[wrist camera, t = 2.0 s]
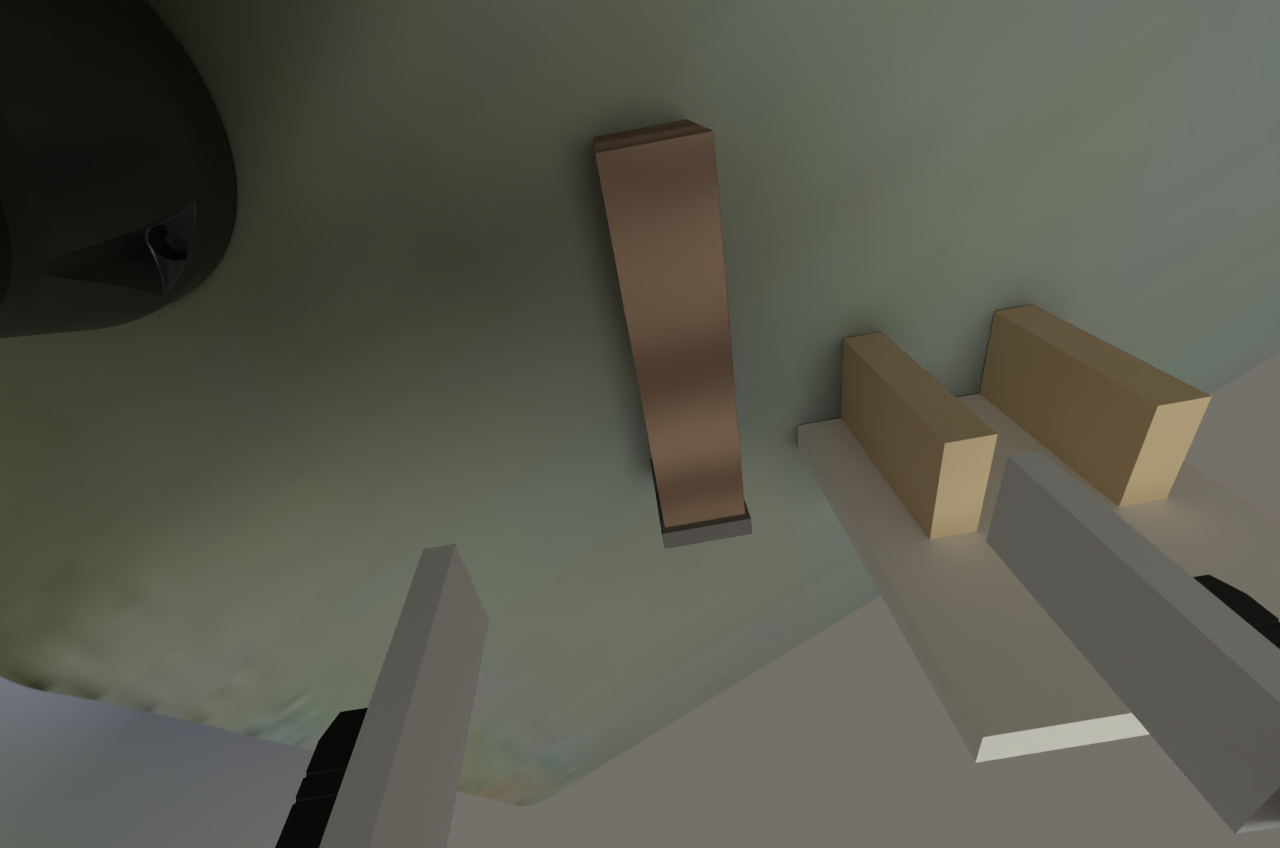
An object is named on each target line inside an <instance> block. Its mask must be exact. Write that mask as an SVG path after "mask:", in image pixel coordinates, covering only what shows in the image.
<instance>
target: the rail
mask: <svg viewBox="0 0 1280 848" xmlns="http://www.w3.org/2000/svg"><path fill="white" fill-rule="evenodd" d="M594 142H595V156H596V161H597V166H598V172H599V177H600V182H601V188H602V193H603V198H604V204H605V209H606V214H607V220H608V225H609V231H610V236H611V241H612V247H613V252H614V257H615V263H616V268H617V273H618V279H619V284H620V289H621V295H622V300H623V305H624V311H625V316H626V322H627V327H628V332H629V338H630V343H631V348H632V354H633V359H634V364H635V370H636V375H637V380H638V386H639V391H640V397H641V402H642V407H643V413H644V418H645V423H646V429H647V434H648V439H649V445H650V450H651V455H652V458H650V460H651V467H652V473H653V480H654V486H655V493H656V499H657V506H658V512H659V519H660V525H661V532H662V537H663V542H664V548H665V549H666V548H672V547H678V546H683V545H689V544H695V543H701V542H707V541H712V540H718V539H724V538H730V537H735V536H741V535H747V534H752V525H751V517H750V515H749V512H748V509H747V506H746V503H745V501H744V496H743V484H742V471H741V459H740V447H739V435H738V423H737V411H736V399H735V387H734V375H733V363H732V350H731V338H730V326H729V314H728V302H727V290H726V278H725V266H724V254H723V242H722V230H721V217H720V205H719V193H718V181H717V169H716V157H715V145H714V133H713V131H712V130H710V129H708V128H705V127H703V126H701V125H699V124H696V123H694V122H692V121H689V120H682V121H677V122H671V123H666V124H661V125H656V126H650V127H645V128H640V129H635V130H629V131H624V132H619V133H614V134H608V135H603V136H598V137H594Z"/></svg>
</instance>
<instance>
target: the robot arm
mask: <svg viewBox="0 0 1280 848" xmlns="http://www.w3.org/2000/svg"><path fill="white" fill-rule="evenodd" d="M235 206H236V186H235V176H234V169H233V163H232V158H231V154H230V150H229V146H228V142H227V139H226V136H225V132H224V129H223V126H222V124H221V121H220V119H219V116H218V114H217V111H216V109H215V106H214V104H213V102H212V100H211V98H210V96H209V93H208V92H207V90H206V88H205V86H204V84H203V82H202V80H201V78H200V77H199V75H198V73H197V72H196V70H195V68H194V67H193V65H192V63H191V62H190V60H189V58H188V57H187V55H186V54H185V52H184V51H183V49H182V48H181V46H180V45H179V44H178V42H177V41H176V39H175V38H174V37H173V35H172V34H171V33H170V31H169V30H168V29H167V27H166V26H165V25H164V24H163V22H162V21H161V20H160V19H159V18H158V16H157V15H156V14H155V13H154V12H153V10H152V9H151V8H150V7H149V6H148V5H147V4H146V3H145V2H144V0H0V338H6V337H17V336H28V335H39V334H50V333H61V332H72V331H83V330H94V329H101V328H108V327H112V326H116V325H121V324H124V323H128V322H131V321H134V320H137V319H140V318H142V317H145V316H147V315H149V314H152V313H153V312H155V311H157V310H159V309H161V308H163V307H165V306H166V305H168V304H170V303H172V302H174V301H176V300H178V299H180V298H181V297H183V296H185V295H187V294H188V293H190V292H191V291H193V290H194V289H195V288H196V287H198V286H199V285H200V284H201V283H202V282H203V281H204V280H205V279H206V278H207V277H208V276H209V275H210V274H211V273H212V271H213V270H214V269H215V267H216V266H217V264H218V263H219V261H220V260H221V258H222V256H223V254H224V252H225V250H226V248H227V245H228V242H229V239H230V236H231V232H232V228H233V224H234V217H235ZM986 542H987V543H988V545H989V546H990V547H991V548H992V549H993V550H994V552H995V553H996V554H997V555H998V556H999V557H1000V559H1001V560H1002V561H1003V562H1004V563H1005V565H1006V566H1007V567H1008V568H1009V569H1010V570H1011V572H1012V573H1013V574H1014V575H1015V576H1016V577H1017V579H1018V580H1019V581H1020V582H1021V583H1022V584H1023V586H1024V587H1025V588H1026V589H1027V590H1028V592H1029V593H1030V594H1031V595H1032V596H1033V597H1034V599H1035V600H1036V601H1037V602H1038V603H1039V604H1040V606H1041V607H1042V608H1043V609H1044V610H1045V611H1046V613H1047V614H1048V615H1049V616H1050V617H1051V619H1052V620H1053V621H1054V622H1055V623H1056V624H1057V626H1058V627H1059V628H1060V629H1061V630H1062V631H1063V633H1064V634H1065V635H1066V636H1067V637H1068V638H1069V640H1070V641H1071V642H1072V643H1073V644H1074V646H1075V647H1076V648H1077V649H1078V650H1079V651H1080V653H1081V654H1082V655H1083V656H1084V657H1085V658H1086V660H1087V661H1088V662H1089V663H1090V664H1091V665H1092V667H1093V668H1094V669H1095V670H1096V671H1097V673H1098V674H1099V675H1100V676H1101V677H1102V678H1103V680H1104V681H1105V682H1106V683H1107V684H1108V685H1109V687H1110V688H1111V689H1112V690H1113V691H1114V692H1115V694H1116V695H1117V696H1118V697H1119V698H1120V700H1121V701H1122V702H1123V703H1124V704H1125V705H1126V707H1127V708H1128V709H1129V710H1130V711H1131V712H1132V714H1133V715H1134V716H1135V717H1136V718H1137V719H1138V721H1139V722H1140V723H1141V724H1142V725H1143V727H1144V728H1145V729H1146V730H1147V731H1148V732H1149V734H1150V735H1151V736H1152V737H1153V738H1154V739H1155V741H1156V742H1157V743H1158V744H1159V745H1160V746H1161V747H1162V749H1163V750H1164V751H1165V752H1166V754H1167V755H1168V756H1169V757H1170V758H1171V759H1172V760H1173V762H1174V763H1175V764H1176V765H1177V766H1178V768H1179V769H1180V770H1181V771H1182V772H1183V773H1184V775H1185V776H1186V777H1187V778H1188V779H1189V780H1190V781H1191V783H1192V784H1193V785H1194V786H1195V788H1196V789H1197V790H1198V791H1199V792H1200V793H1201V794H1202V796H1203V797H1204V798H1205V799H1206V800H1207V802H1208V803H1209V804H1210V805H1211V806H1212V808H1213V809H1214V810H1215V811H1216V812H1217V813H1218V814H1219V816H1220V817H1221V818H1222V819H1223V820H1224V822H1225V823H1226V824H1227V825H1228V826H1229V827H1230V829H1231V830H1232V831H1233V832H1234V833H1235V834H1237V833H1243V832H1250V831H1257V830H1263V829H1270V828H1276V827H1280V622H1279V619H1278V618H1277V617H1276V616H1275V615H1273V614H1272V613H1271V612H1269V611H1268V610H1267V609H1266V608H1264V607H1263V606H1262V605H1261V604H1259V603H1258V602H1257V601H1256V600H1254V599H1253V598H1252V597H1250V596H1249V595H1248V594H1246V593H1244V592H1242V591H1240V590H1239V589H1237V588H1235V587H1233V586H1231V585H1229V584H1227V583H1225V582H1223V581H1221V580H1219V579H1217V578H1215V577H1213V576H1211V575H1210V574H1209V575H1203V576H1196V577H1192V576H1191V575H1189V574H1188V573H1187V572H1186V571H1185V570H1183V569H1182V568H1181V567H1180V566H1179V565H1177V564H1176V563H1175V562H1174V561H1173V560H1171V559H1170V558H1169V557H1168V556H1167V555H1165V554H1164V553H1163V552H1162V551H1161V550H1159V549H1158V548H1157V547H1156V546H1155V545H1153V544H1152V543H1151V542H1150V541H1149V540H1147V539H1146V538H1145V537H1144V536H1143V535H1141V534H1140V533H1139V532H1138V531H1136V530H1135V529H1134V528H1133V527H1132V526H1130V525H1129V524H1128V523H1127V522H1126V521H1124V520H1123V519H1122V518H1121V517H1120V516H1118V515H1117V514H1116V513H1115V512H1114V511H1112V510H1111V509H1110V508H1109V507H1108V506H1106V505H1105V504H1104V503H1103V502H1102V501H1100V500H1099V499H1098V498H1097V497H1096V496H1094V495H1093V494H1092V493H1091V492H1090V491H1088V490H1087V489H1086V488H1085V487H1084V486H1082V485H1081V484H1080V483H1079V482H1078V481H1076V480H1075V479H1074V478H1073V477H1071V476H1070V475H1069V474H1068V473H1067V472H1065V471H1064V470H1063V469H1062V468H1061V467H1059V466H1058V465H1057V464H1056V463H1055V462H1053V461H1052V460H1051V459H1050V458H1049V457H1047V456H1046V455H1045V454H1044V453H1043V452H1041V451H1037V452H1030V453H1024V454H1018V455H1012V456H1008V458H1007V462H1006V466H1005V470H1004V474H1003V478H1002V481H1001V485H1000V489H999V493H998V497H997V501H996V504H995V508H994V512H993V516H992V520H991V524H990V528H989V531H988V535H987V539H986ZM487 626H488V618H487V615H486V613H485V611H484V609H483V606H482V604H481V602H480V599H479V597H478V595H477V592H476V590H475V588H474V586H473V583H472V581H471V579H470V576H469V574H468V572H467V569H466V567H465V565H464V563H463V560H462V558H461V556H460V553H459V551H458V549H457V546H456V544H453V545H447V546H440V547H434V548H428V549H423V552H422V555H421V558H420V561H419V564H418V566H417V569H416V572H415V575H414V578H413V581H412V584H411V586H410V589H409V592H408V595H407V598H406V601H405V604H404V606H403V609H402V612H401V615H400V618H399V621H398V624H397V626H396V629H395V632H394V635H393V638H392V641H391V644H390V646H389V649H388V652H387V655H386V658H385V661H384V664H383V666H382V669H381V672H380V675H379V678H378V681H377V684H376V686H375V689H374V692H373V695H372V698H371V701H370V704H369V706H368V708H363V709H357V710H351V711H344V712H340V713H339V714H338V716H337V717H336V718H335V720H334V721H333V722H332V724H331V725H330V726H329V728H328V729H327V730H326V732H325V733H324V734H323V736H322V737H321V738H320V740H319V741H318V744H317V746H316V749H315V751H314V754H313V756H312V759H311V761H310V764H309V766H308V768H307V771H306V773H307V775H306V778H303V781H302V783H301V786H300V788H299V791H298V793H297V795H296V803H295V804H293V805H292V808H291V810H290V813H289V815H288V818H287V820H286V823H285V825H284V828H283V830H282V833H281V835H280V838H279V840H278V842H277V845H276V847H275V848H446V847H447V842H448V836H449V831H450V825H451V820H452V814H453V809H454V803H455V798H456V793H457V788H458V782H459V777H460V772H461V766H462V761H463V755H464V750H465V744H466V739H467V734H468V728H469V723H470V717H471V712H472V707H473V701H474V696H475V690H476V685H477V680H478V674H479V669H480V663H481V658H482V653H483V647H484V642H485V636H486V631H487Z"/></svg>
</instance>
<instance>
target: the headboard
mask: <svg viewBox="0 0 1280 848" xmlns="http://www.w3.org/2000/svg"><path fill="white" fill-rule="evenodd" d="M1211 397H1212V396H1210V395H1208V394H1206V393H1204V392H1202V391H1200V390H1198V389H1196V388H1194V387H1192V386H1190V385H1189V384H1187V383H1185V382H1183V381H1181V380H1179V379H1177V378H1175V377H1173V376H1171V375H1169V374H1167V373H1165V372H1163V371H1161V370H1159V369H1157V368H1155V367H1153V366H1152V365H1150V364H1148V363H1146V362H1144V361H1142V360H1140V359H1138V358H1136V357H1134V356H1132V355H1130V354H1128V353H1126V352H1124V351H1122V350H1120V349H1118V348H1116V347H1114V346H1113V345H1111V344H1109V343H1107V342H1105V341H1103V340H1101V339H1099V338H1097V337H1095V336H1093V335H1091V334H1089V333H1087V332H1085V331H1083V330H1081V329H1079V328H1077V327H1076V326H1074V325H1072V324H1070V323H1068V322H1066V321H1064V320H1062V319H1060V318H1058V317H1056V316H1054V315H1052V314H1050V313H1048V312H1046V311H1044V310H1042V309H1040V308H1038V307H1037V306H1035V305H1033V304H1032V305H1027V306H1021V307H1016V308H1010V309H1005V310H999V311H994V317H993V322H992V328H991V333H990V338H989V344H988V349H987V355H986V360H985V365H984V371H983V376H982V382H981V387H980V392H979V394H973V395H968V396H962V397H955V396H954V395H953V394H951V393H950V392H949V391H948V390H947V389H946V388H945V387H943V386H942V385H941V384H940V383H939V382H938V381H937V380H935V379H934V378H933V377H932V376H931V375H930V374H929V373H927V372H926V371H925V370H924V369H923V368H922V367H921V366H919V365H918V364H917V363H916V362H915V361H914V360H913V359H911V358H910V357H909V356H908V355H907V354H906V353H905V352H903V351H902V350H901V349H900V348H899V347H898V346H897V345H895V344H894V343H893V342H892V341H891V340H890V339H889V338H887V337H886V336H885V335H884V334H883V333H882V332H877V333H872V334H866V335H860V336H855V337H849V338H844V339H843V364H842V393H841V418H838V419H832V420H827V421H821V422H815V423H810V424H804V425H798V448H799V450H800V451H801V453H802V455H803V457H804V459H805V460H806V462H807V464H808V466H809V467H810V469H811V471H812V473H813V475H814V476H815V478H816V480H817V482H818V483H819V485H820V487H821V489H822V491H823V492H824V494H825V496H826V498H827V499H828V501H829V503H830V505H831V507H832V508H833V510H834V512H835V514H836V515H837V517H838V519H839V521H840V523H841V524H842V526H843V528H844V530H845V532H846V533H847V535H848V537H849V539H850V540H851V542H852V544H853V546H854V548H855V549H856V551H857V553H858V555H859V556H860V558H861V560H862V562H863V564H864V565H865V567H866V569H867V571H868V572H869V574H870V576H871V578H872V580H873V581H874V583H875V585H876V587H877V588H878V590H879V592H880V594H881V596H882V597H883V599H884V601H885V603H886V604H887V606H888V608H889V610H890V611H891V613H892V615H893V617H894V619H895V620H896V622H897V624H898V626H899V628H900V629H901V631H902V633H903V635H904V637H905V638H906V640H907V642H908V644H909V645H910V647H911V649H912V651H913V653H914V654H915V656H916V658H917V659H918V661H919V663H920V665H921V667H922V668H923V670H924V672H925V674H926V676H927V677H928V679H929V681H930V683H931V685H932V686H933V688H934V690H935V692H936V693H937V695H938V697H939V699H940V701H941V702H942V704H943V706H944V708H945V709H946V711H947V713H948V715H949V716H950V718H951V720H952V722H953V724H954V725H955V727H956V729H957V731H958V733H959V734H960V736H961V738H962V740H963V741H964V743H965V745H966V747H967V748H968V750H969V752H970V754H971V755H972V757H973V759H974V761H975V763H976V762H983V761H989V760H994V759H1001V758H1007V757H1013V756H1019V755H1026V754H1032V753H1038V752H1043V751H1050V750H1056V749H1062V748H1068V747H1075V746H1081V745H1087V744H1093V743H1099V742H1105V741H1111V740H1118V739H1123V738H1130V737H1136V736H1142V735H1148V734H1149V732H1148V731H1147V730H1146V729H1145V728H1144V727H1143V725H1142V724H1141V723H1140V722H1139V721H1138V719H1137V718H1136V717H1135V716H1134V715H1133V714H1132V712H1131V711H1130V710H1129V709H1128V708H1127V707H1126V705H1125V704H1124V703H1123V702H1122V701H1121V700H1120V698H1119V697H1118V696H1117V695H1116V694H1115V692H1114V691H1113V690H1112V689H1111V688H1110V687H1109V685H1108V684H1107V683H1106V682H1105V681H1104V680H1103V678H1102V677H1101V676H1100V675H1099V674H1098V673H1097V671H1096V670H1095V669H1094V668H1093V667H1092V665H1091V664H1090V663H1089V662H1088V661H1087V660H1086V658H1085V657H1084V656H1083V655H1082V654H1081V653H1080V651H1079V650H1078V649H1077V648H1076V647H1075V646H1074V644H1073V643H1072V642H1071V641H1070V640H1069V638H1068V637H1067V636H1066V635H1065V634H1064V633H1063V631H1062V630H1061V629H1060V628H1059V627H1058V626H1057V624H1056V623H1055V622H1054V621H1053V620H1052V619H1051V617H1050V616H1049V615H1048V614H1047V613H1046V611H1045V610H1044V609H1043V608H1042V607H1041V606H1040V604H1039V603H1038V602H1037V601H1036V600H1035V599H1034V597H1033V596H1032V595H1031V594H1030V593H1029V592H1028V590H1027V589H1026V588H1025V587H1024V586H1023V584H1022V583H1021V582H1020V581H1019V580H1018V579H1017V577H1016V576H1015V575H1014V574H1013V573H1012V572H1011V570H1010V569H1009V568H1008V567H1007V566H1006V565H1005V563H1004V562H1003V561H1002V560H1001V559H1000V557H999V556H998V555H997V554H996V553H995V552H994V550H993V549H992V548H991V547H990V546H989V545H988V543H987V542H986V539H987V535H988V531H989V528H990V524H991V520H992V516H993V512H994V508H995V504H996V501H997V497H998V493H999V489H1000V485H1001V481H1002V478H1003V474H1004V470H1005V466H1006V462H1007V458H1008V456H1012V455H1018V454H1024V453H1030V452H1037V451H1041V452H1043V453H1044V454H1045V455H1046V456H1047V457H1049V458H1050V459H1051V460H1052V461H1053V462H1055V463H1056V464H1057V465H1058V466H1059V467H1061V468H1062V469H1063V470H1064V471H1065V472H1067V473H1068V474H1069V475H1070V476H1071V477H1073V478H1074V479H1075V480H1076V481H1078V482H1079V483H1080V484H1081V485H1082V486H1084V487H1085V488H1086V489H1087V490H1088V491H1090V492H1091V493H1092V494H1093V495H1094V496H1096V497H1097V498H1098V499H1099V500H1100V501H1102V502H1103V503H1104V504H1105V505H1106V506H1108V507H1109V508H1110V509H1111V510H1112V511H1114V512H1115V513H1116V514H1117V515H1118V516H1120V517H1121V518H1122V519H1123V520H1124V521H1126V522H1127V523H1128V524H1129V525H1130V526H1132V527H1133V528H1134V529H1135V530H1136V531H1138V532H1139V533H1140V534H1141V535H1143V536H1144V537H1145V538H1146V539H1147V540H1149V541H1150V542H1151V543H1152V544H1153V545H1155V546H1156V547H1157V548H1158V549H1159V550H1161V551H1162V552H1163V553H1164V554H1165V555H1167V556H1168V557H1169V558H1170V559H1171V560H1173V561H1174V562H1175V563H1176V564H1177V565H1179V566H1180V567H1181V568H1182V569H1183V570H1185V571H1186V572H1187V573H1188V574H1189V575H1191V576H1192V577H1196V576H1203V575H1209V574H1210V575H1211V576H1213V577H1215V578H1217V579H1219V580H1221V581H1223V582H1225V583H1227V584H1229V585H1231V586H1233V587H1235V588H1237V589H1239V590H1240V591H1242V592H1244V593H1246V594H1248V595H1249V596H1250V597H1252V598H1253V599H1254V600H1256V601H1257V602H1258V603H1259V604H1261V605H1262V606H1263V607H1264V608H1266V609H1267V610H1268V611H1269V612H1271V613H1272V614H1273V615H1275V616H1276V617H1277V618H1278V619H1279V622H1280V523H1279V522H1278V521H1276V520H1275V519H1273V518H1272V517H1270V516H1269V515H1267V514H1265V513H1264V512H1262V511H1261V510H1259V509H1258V508H1256V507H1255V506H1253V505H1251V504H1250V503H1248V502H1247V501H1245V500H1244V499H1242V498H1241V497H1239V496H1238V495H1236V494H1234V493H1233V492H1231V491H1230V490H1228V489H1227V488H1225V487H1224V486H1222V485H1220V484H1219V483H1217V482H1216V481H1214V480H1213V479H1211V478H1210V477H1208V476H1207V475H1205V474H1204V473H1202V472H1200V471H1199V470H1197V469H1196V468H1194V467H1193V466H1191V465H1190V464H1188V463H1187V462H1185V461H1184V458H1185V456H1186V454H1187V451H1188V449H1189V447H1190V444H1191V442H1192V440H1193V438H1194V436H1195V433H1196V431H1197V429H1198V426H1199V424H1200V422H1201V420H1202V417H1203V415H1204V413H1205V411H1206V408H1207V406H1208V404H1209V402H1210V399H1211Z"/></svg>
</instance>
